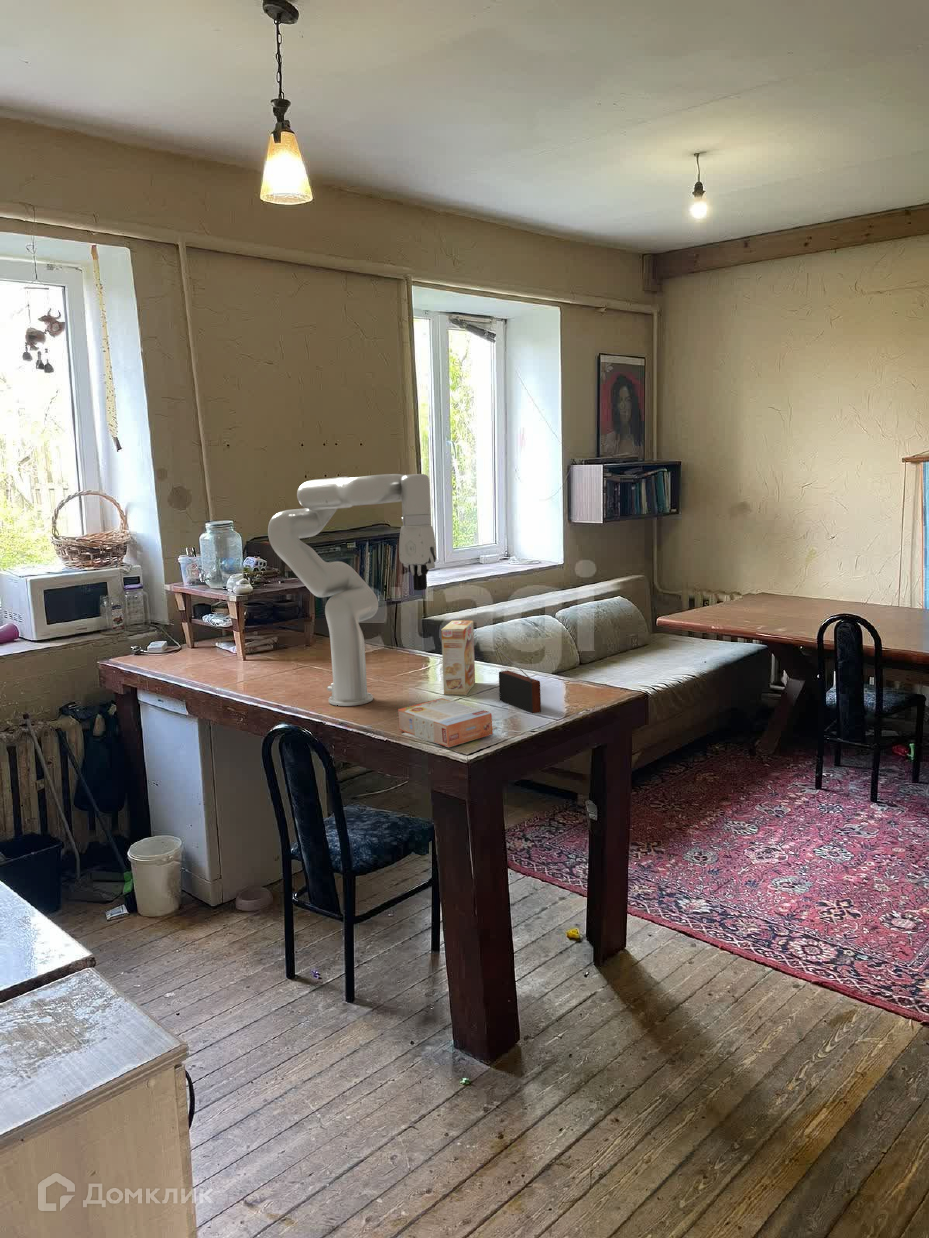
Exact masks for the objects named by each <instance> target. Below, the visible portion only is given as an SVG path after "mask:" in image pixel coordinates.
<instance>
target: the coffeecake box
mask: <svg viewBox="0 0 929 1238" xmlns="http://www.w3.org/2000/svg"><path fill="white" fill-rule="evenodd" d="M474 630H475V629H474V620H467V619H466V620H465V619H464V620H459V619H458V620H451V621H449V622H448V623H447V624H446V625H445V626H444V627H443V628H441V630H440V631H441V654H442V655H441V657H442V678H443V681H442V683H443V695H444V696H445V695H448V696H449V695H451V696H467V695H468V693H469V692H470V691H471V689H472V688H474V685H475V684H476V672H475V671H476V669H475V668H476V667H475V666H476V665H475V664H476V663H475V641H474V640H475V635H474Z"/></svg>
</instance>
